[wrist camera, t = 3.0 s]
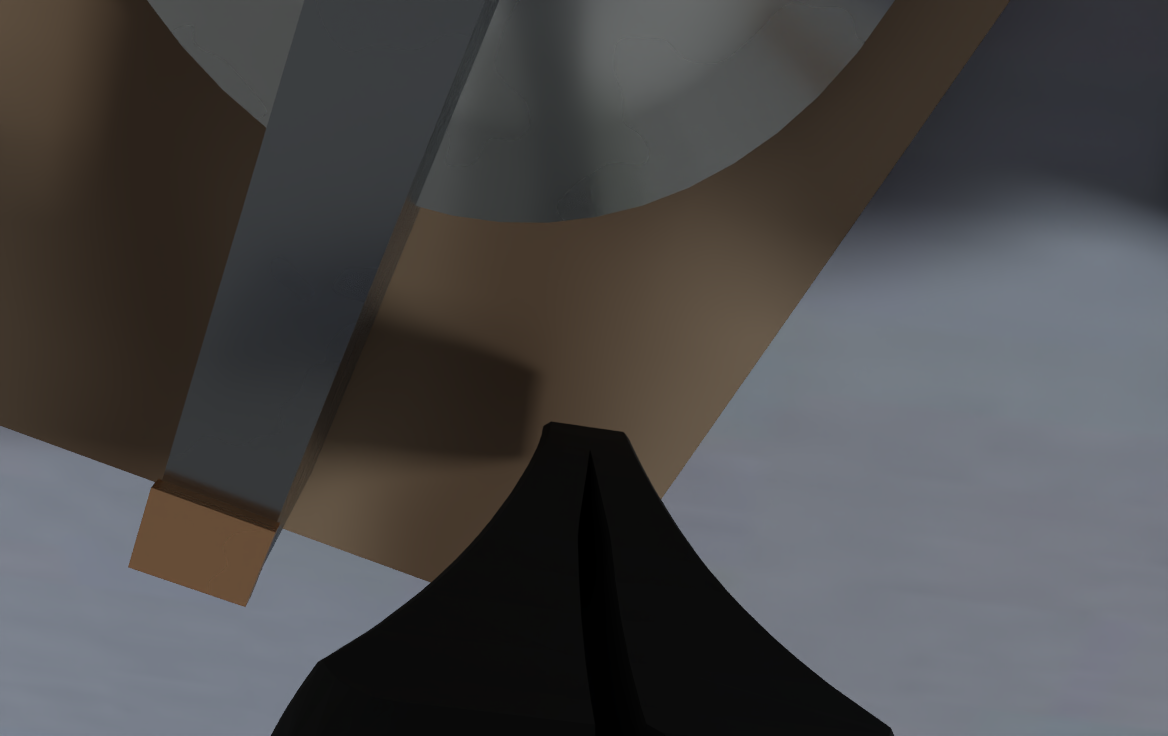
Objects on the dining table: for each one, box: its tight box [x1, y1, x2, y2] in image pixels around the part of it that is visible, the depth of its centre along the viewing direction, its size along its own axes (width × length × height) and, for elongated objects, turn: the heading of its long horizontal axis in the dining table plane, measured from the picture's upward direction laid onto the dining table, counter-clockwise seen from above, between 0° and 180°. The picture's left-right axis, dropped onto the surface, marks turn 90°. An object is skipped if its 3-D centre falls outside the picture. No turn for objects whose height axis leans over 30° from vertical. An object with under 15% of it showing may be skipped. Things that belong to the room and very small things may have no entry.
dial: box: [128, 0, 895, 607], centre depth 9 cm, size 16×10×4 cm, turn 153°
